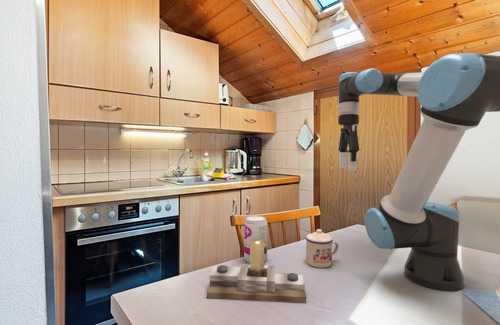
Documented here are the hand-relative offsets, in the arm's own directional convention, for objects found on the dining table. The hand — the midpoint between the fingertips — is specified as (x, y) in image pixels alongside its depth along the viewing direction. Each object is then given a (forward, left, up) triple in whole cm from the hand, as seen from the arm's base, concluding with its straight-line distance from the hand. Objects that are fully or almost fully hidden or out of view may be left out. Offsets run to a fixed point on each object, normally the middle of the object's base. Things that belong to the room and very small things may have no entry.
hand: (347, 169), depth 107 cm
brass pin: (+4, +47, -30) cm, 56 cm away
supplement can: (+18, +33, -32) cm, 49 cm away
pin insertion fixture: (+4, +47, -32) cm, 57 cm away
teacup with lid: (0, +18, -32) cm, 37 cm away
